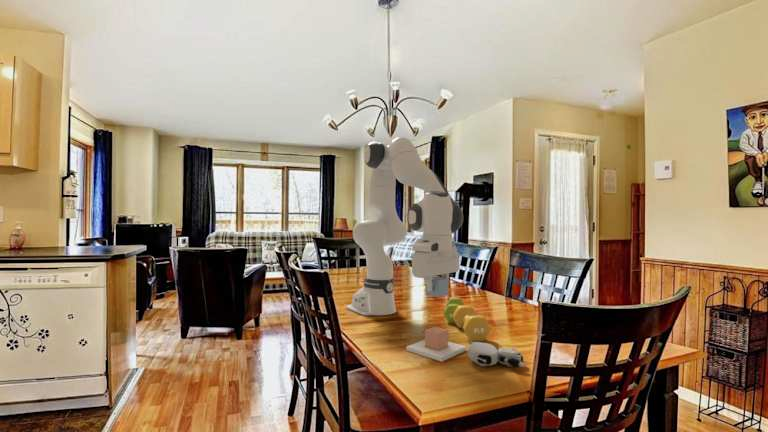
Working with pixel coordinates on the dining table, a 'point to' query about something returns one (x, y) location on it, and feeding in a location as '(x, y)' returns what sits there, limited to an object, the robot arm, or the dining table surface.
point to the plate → (436, 354)
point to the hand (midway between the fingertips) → (436, 289)
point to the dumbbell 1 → (452, 308)
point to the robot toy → (494, 355)
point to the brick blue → (439, 287)
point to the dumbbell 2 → (471, 323)
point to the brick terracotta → (436, 338)
